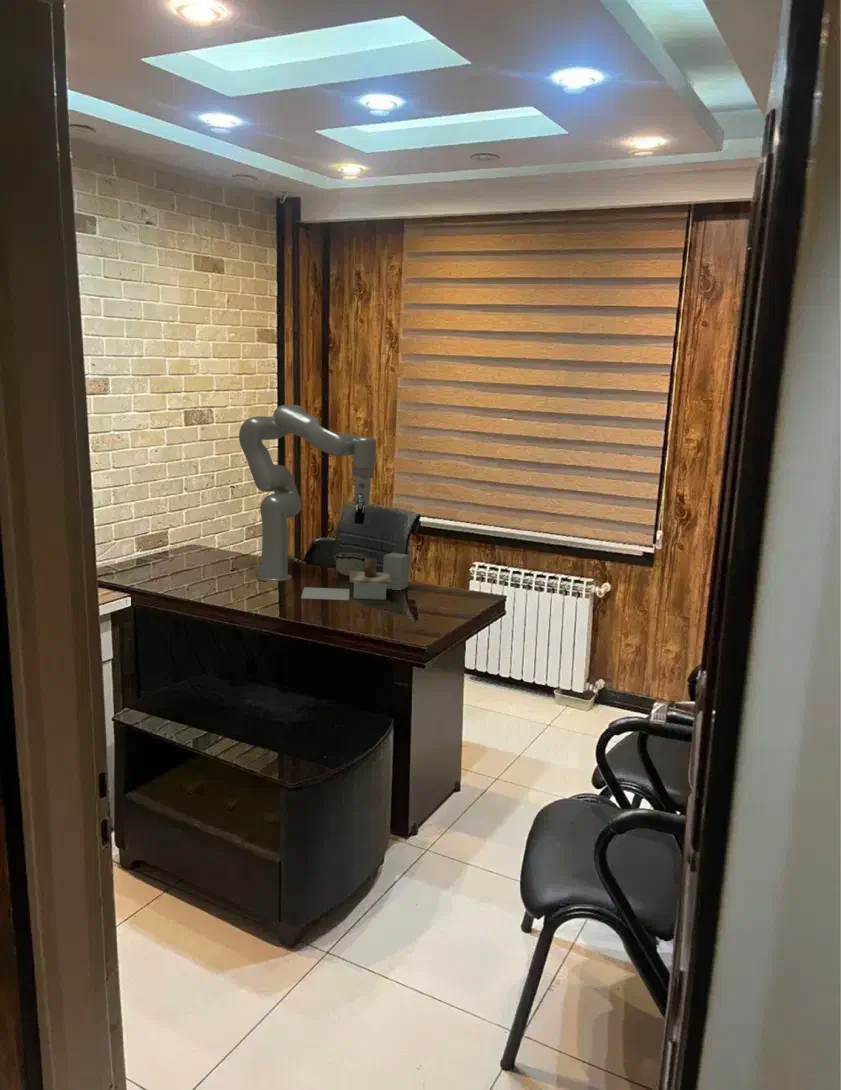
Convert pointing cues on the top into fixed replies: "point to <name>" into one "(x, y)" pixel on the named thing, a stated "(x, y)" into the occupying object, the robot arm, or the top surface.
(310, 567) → the top surface
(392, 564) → the supplement box
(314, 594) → the mat
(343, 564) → the grey half-round piece
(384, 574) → the lid
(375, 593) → the open square bin
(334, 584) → the top surface
